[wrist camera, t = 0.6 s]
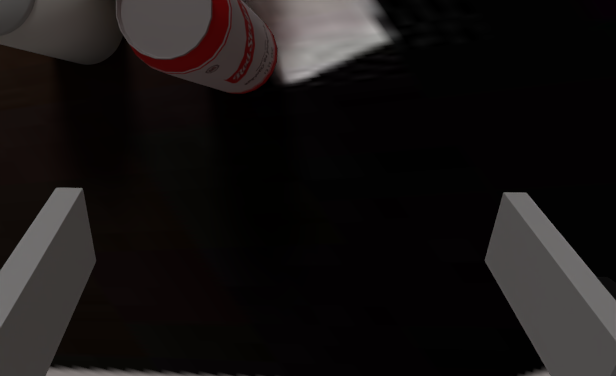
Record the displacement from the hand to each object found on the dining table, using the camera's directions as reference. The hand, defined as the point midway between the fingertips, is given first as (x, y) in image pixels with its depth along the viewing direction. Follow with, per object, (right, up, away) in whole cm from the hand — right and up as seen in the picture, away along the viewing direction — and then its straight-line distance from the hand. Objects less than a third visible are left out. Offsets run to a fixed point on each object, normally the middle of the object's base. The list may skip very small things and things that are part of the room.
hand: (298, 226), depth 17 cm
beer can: (-5, +12, +26) cm, 29 cm away
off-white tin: (-18, +15, +27) cm, 36 cm away
